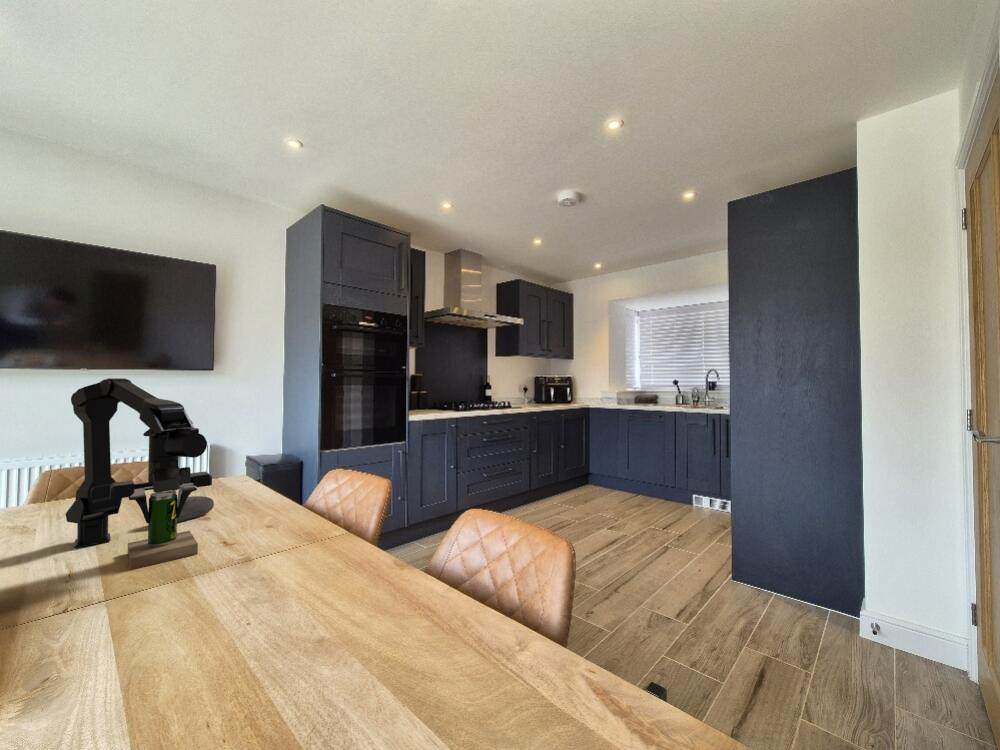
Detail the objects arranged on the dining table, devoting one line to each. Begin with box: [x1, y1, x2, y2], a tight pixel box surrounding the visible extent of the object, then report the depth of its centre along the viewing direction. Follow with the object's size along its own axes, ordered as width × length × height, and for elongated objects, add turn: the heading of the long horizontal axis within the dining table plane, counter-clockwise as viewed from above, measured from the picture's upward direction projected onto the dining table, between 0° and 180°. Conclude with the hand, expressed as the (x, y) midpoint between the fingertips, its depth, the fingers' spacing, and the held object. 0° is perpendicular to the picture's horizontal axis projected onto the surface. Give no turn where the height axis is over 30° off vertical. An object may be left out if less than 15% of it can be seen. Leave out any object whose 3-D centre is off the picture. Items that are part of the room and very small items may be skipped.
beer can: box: [147, 490, 178, 547], centre depth 100 cm, size 5×5×12 cm
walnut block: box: [127, 530, 199, 570], centre depth 100 cm, size 12×12×2 cm
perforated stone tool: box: [177, 495, 215, 523], centre depth 125 cm, size 15×5×7 cm, turn 147°
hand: (162, 520), depth 100 cm, fingers closed on beer can, 5 cm apart
